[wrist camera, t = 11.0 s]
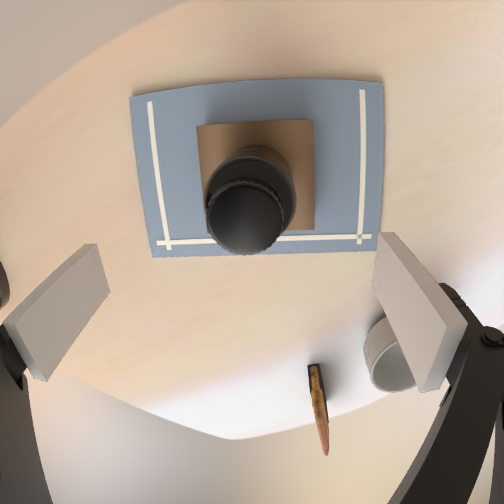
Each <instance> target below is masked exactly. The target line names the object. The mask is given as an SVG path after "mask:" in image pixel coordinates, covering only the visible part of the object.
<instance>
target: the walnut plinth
mask: <svg viewBox="0 0 504 504" xmlns="http://www.w3.org/2000/svg"><path fill="white" fill-rule="evenodd" d="M196 132H197V143H198V154H199V164H200V174H201V183H202V192H204V188H205V185H206V183H207V181H208V179H209V177H210V175H211V174H212V173H213V171H214V170H215V169H216V168H217V167H218V166H219V165H220V164H221V163H222V162H223V161H224V160H225V159H226V158H227V157H228V156H229V155H231V154H232V153H233V152H234V151H236V150H237V149H239V148H241V147H244V146H248V145H264V146H267V147H270V148H272V149H274V150H276V151H277V152H278V153H280V154H281V155H282V156H283V157H284V158H285V160H286V161H287V163H288V165H289V167H290V170H291V173H292V177H293V181H294V186H295V190H296V197H297V206H296V212H295V216H294V218H293V221H292V223H291V224H290V226H289V227H288V229H287V230H286V231H289V230H315V164H314V126H313V120H310V119H288V120H261V121H243V122H229V123H218V124H207V125H201V126H196ZM205 219H206V216H205ZM206 227H207V221H206ZM207 233H209V229H208V227H207Z"/></svg>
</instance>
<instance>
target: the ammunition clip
mask: <svg viewBox="0 0 504 504" xmlns="http://www.w3.org/2000/svg"><path fill="white" fill-rule="evenodd" d="M307 367H308V377H309V386H310V393H311V397H312V406H313V409H314V414H315V419H316V423H317V428H318V432H319V436H320V440H321V445H322V449H323V452H324V454H325V456H327V455H328V452H329V427H328V423H329V421H328V412H327V404H326V398H325V393H324V387H323V382H322V377H321V371H320V366H319V364H314V365H309V366H307Z"/></svg>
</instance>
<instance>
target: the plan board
mask: <svg viewBox="0 0 504 504" xmlns="http://www.w3.org/2000/svg"><path fill="white" fill-rule="evenodd" d="M129 100H130V112H131V122H132V131H133V140H134V148H135V156H136V164H137V171H138V178H139V184H140V191H141V197H142V203H143V209H144V215H145V220H146V226H147V231H148V236H149V242H150V247H151V251H152V256H153V258H154V257H190V256H225V255H237V254H235V253H231V252H229V251H228V250H225V249H223V248H222V246H220V245H218V244H217V242H216V241H215V240H213V238H212V235H211V234H210V233H207V227H206V219H205V213H204V208H203V192H202V183H201V174H200V164H199V154H198V143H197V132H196V126H201V125H207V124H218V123H229V122H243V121H261V120H288V119H310V120H313V126H314V164H315V230H289V231H285V232H284V233H283V234H282V235H281V236H280V237H279V238H277V240H276V242H274V243H273V244H272V246H271V247H269V248H267V249H266V250H265V251H261V252H260V253H258V254H253V255H259V254H292V253H325V252H357V251H377V243H378V233H379V230H380V218H381V205H382V190H383V168H384V95H383V83H381V82H370V81H357V80H340V79H265V80H247V81H234V82H223V83H214V84H205V85H197V86H190V87H183V88H176V89H170V90H164V91H159V92H153V93H148V94H143V95H138V96H133V97H129ZM238 255H241V254H238ZM247 255H248V254H247Z"/></svg>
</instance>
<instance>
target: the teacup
mask: <svg viewBox="0 0 504 504" xmlns="http://www.w3.org/2000/svg"><path fill="white" fill-rule="evenodd" d="M364 356H365V360H366V364H367V367H368V370H369V373H370V378H371V381H372V384H373V385H374V386H375V387H376V388H377V389H379V390H381V391H383V392H390V393H395V392H401V391H405V390H407V389H410V388H412V387H414V386H416V385H417V384H416V382H415V379H414V377H413V374H412V372H411V370H410V367H409V365H408V363H407V360H406V358H405V356H404V353H403V351H402V349H401V347H400V344H399V342H398V340H397V338H396V336H395V333H394V331H393V329H392V327H391V325H390V323H389V320H388V318H387V316H386V317H385V318H383V319H381V320H380V321H379V322H378V323H376V324H375V325H374V326H373V328H372V329H371V330H370V332H369V333H368V335H367V337H366V340H365V343H364Z"/></svg>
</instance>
